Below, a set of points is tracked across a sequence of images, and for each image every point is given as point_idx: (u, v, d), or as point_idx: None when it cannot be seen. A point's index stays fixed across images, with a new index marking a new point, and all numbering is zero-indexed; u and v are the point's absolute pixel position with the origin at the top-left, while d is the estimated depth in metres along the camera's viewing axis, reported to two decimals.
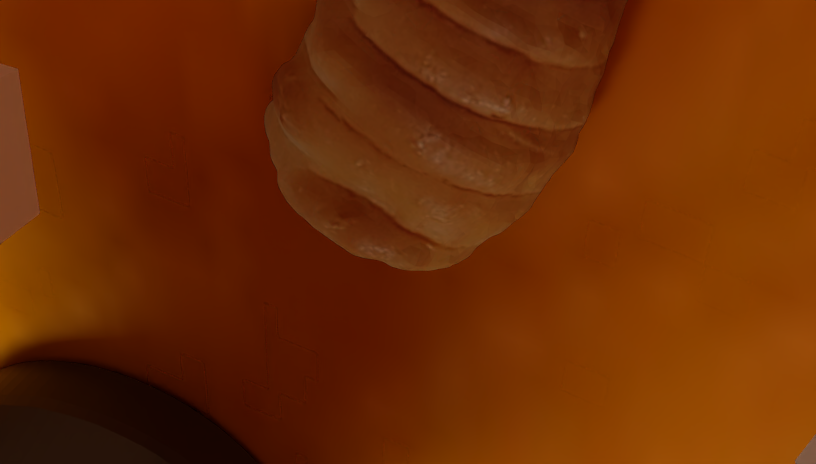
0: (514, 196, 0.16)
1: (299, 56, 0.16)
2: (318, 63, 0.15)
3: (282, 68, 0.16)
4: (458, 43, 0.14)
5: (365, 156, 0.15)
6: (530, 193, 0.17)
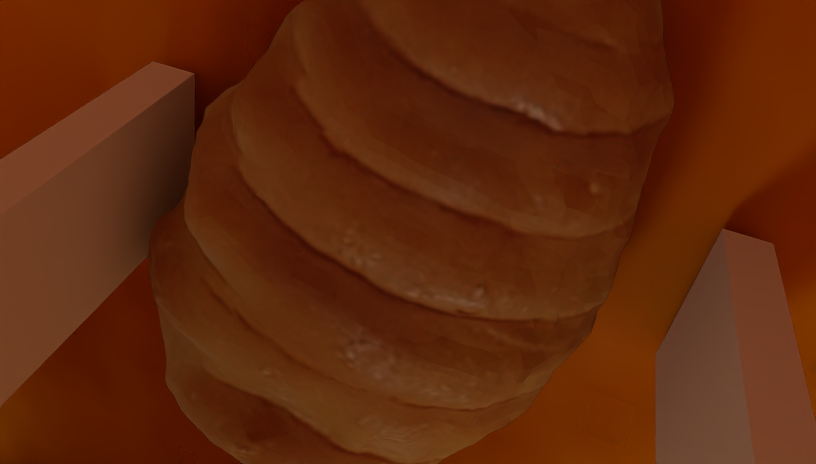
0: (503, 402, 0.11)
1: (181, 206, 0.11)
2: (192, 233, 0.10)
3: (157, 226, 0.11)
4: (395, 210, 0.09)
5: (273, 365, 0.10)
6: (529, 392, 0.11)
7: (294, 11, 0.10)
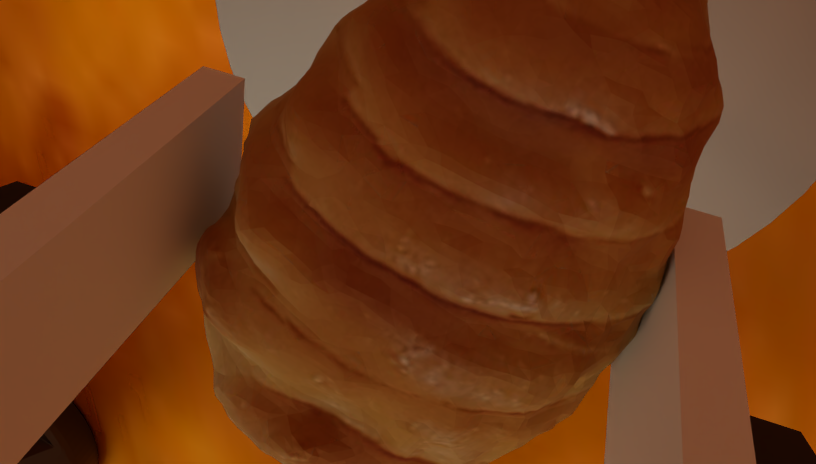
0: (552, 405, 0.11)
1: (228, 217, 0.11)
2: (244, 243, 0.10)
3: (204, 237, 0.11)
4: (450, 217, 0.09)
5: (325, 373, 0.10)
6: (577, 394, 0.11)
7: (342, 22, 0.10)
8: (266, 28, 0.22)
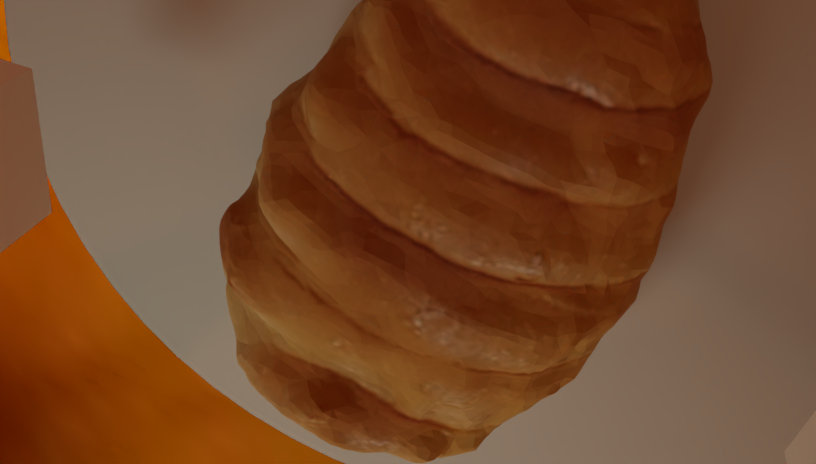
0: (556, 368, 0.12)
1: (250, 194, 0.12)
2: (268, 215, 0.11)
3: (228, 212, 0.12)
4: (459, 185, 0.10)
5: (344, 337, 0.11)
6: (579, 358, 0.12)
7: (358, 8, 0.10)
8: (98, 154, 0.15)
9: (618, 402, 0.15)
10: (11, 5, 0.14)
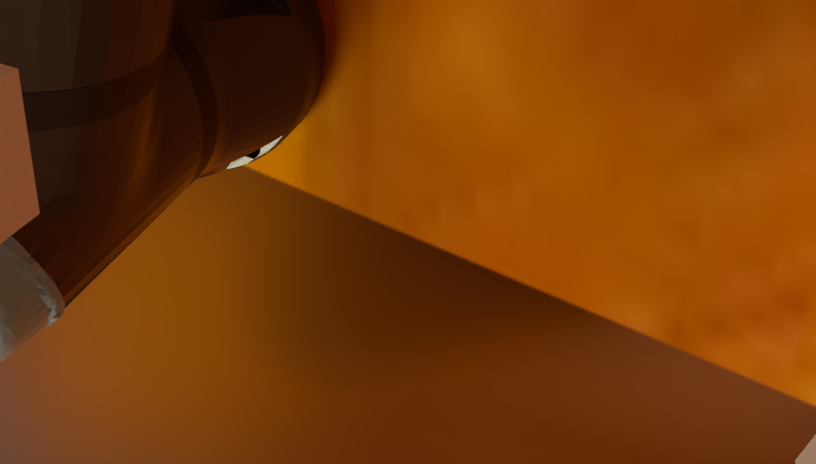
0: None
1: None
2: None
3: None
4: None
5: None
6: None
7: None
8: None
9: None
10: None
